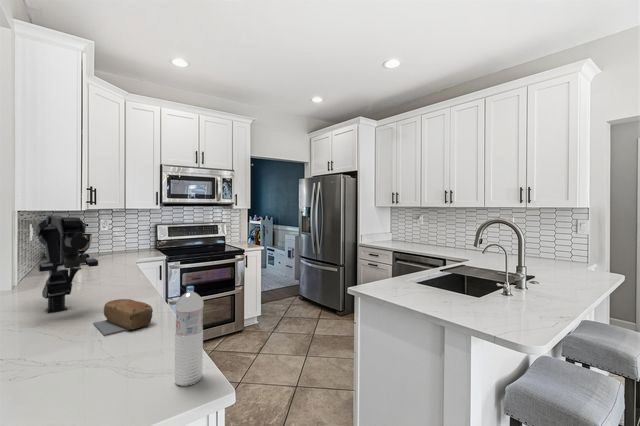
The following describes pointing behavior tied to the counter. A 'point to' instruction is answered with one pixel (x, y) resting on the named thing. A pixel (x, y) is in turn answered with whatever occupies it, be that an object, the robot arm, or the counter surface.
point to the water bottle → (189, 338)
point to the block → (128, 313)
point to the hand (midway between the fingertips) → (69, 285)
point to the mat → (109, 327)
